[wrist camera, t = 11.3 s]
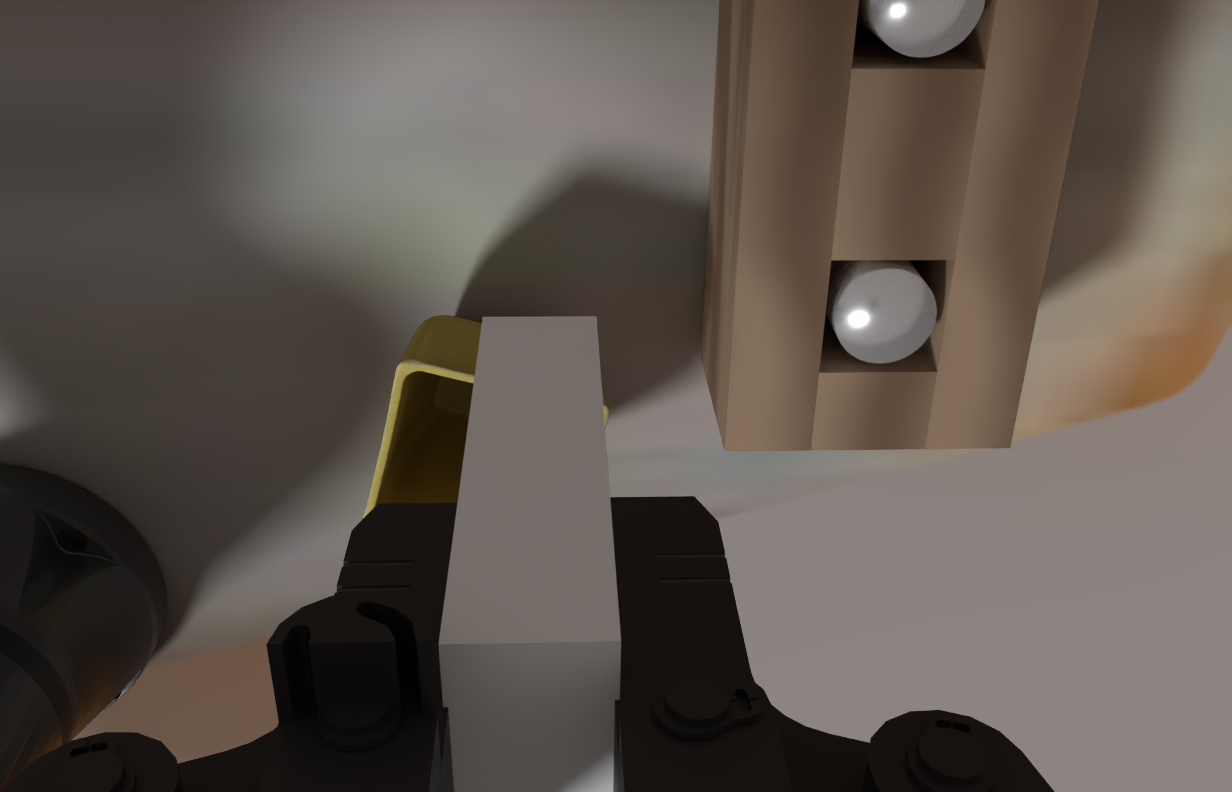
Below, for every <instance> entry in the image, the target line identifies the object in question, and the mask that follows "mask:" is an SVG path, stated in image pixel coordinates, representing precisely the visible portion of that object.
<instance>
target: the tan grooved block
mask: <svg viewBox="0 0 1232 792" xmlns="http://www.w3.org/2000/svg"><path fill="white" fill-rule="evenodd" d="M1098 4H1099V0H985V5H984V8H983V11H982V14H981V16H980V18H979V20H978V22H977V24H976V26H975V27H974V29H973V30H972V31H971V32H970V34H969V35H968V36H967V37H966V38H965V39H964V40H963V41H962V42H961V43H959V44H958V45H957V46H955V47H954V48H952V49H950V50H949V51H946V52H944V53H942V54H939V55H936V56H931V57H922V58H919V57H911V56H906V55H904V54H901V53H899V52H897V51H895V50H893V49H892V48H891V47H889V46H888V45H887V44H886V43H884V42H883V41H882V40H881V39H879V38H878V37H877V36H876V35H874V34H873V33H872V32H871V31H870V30H868V29H867V28H866V27H865V26H863V25H862V24H861V23H860V22H857V14H858V5H859V0H720V4H719V23H718V42H717V60H716V79H715V98H714V117H713V135H712V154H711V173H710V192H709V210H708V229H707V248H706V267H705V285H704V304H703V323H702V342H701V359H702V363H703V367H704V371H705V375H706V379H707V383H708V387H709V391H710V395H711V399H712V403H713V407H714V411H715V415H716V419H717V423H718V427H719V431H720V435H721V439H722V443H723V447H724V451H794V450H882V449H971V448H1010V446H1011V441H1012V436H1013V431H1014V426H1015V420H1016V415H1017V410H1018V405H1019V400H1020V395H1021V390H1022V385H1023V380H1024V375H1025V370H1026V365H1027V360H1028V355H1029V350H1030V345H1031V340H1032V335H1033V330H1034V325H1035V320H1036V315H1037V310H1038V305H1039V300H1040V295H1041V290H1042V285H1043V280H1044V275H1045V270H1046V265H1047V260H1048V255H1049V250H1050V245H1051V240H1052V235H1053V230H1054V225H1055V220H1056V215H1057V210H1058V205H1059V200H1060V195H1061V190H1062V185H1063V180H1064V174H1065V169H1066V164H1067V159H1068V154H1069V149H1070V144H1071V139H1072V134H1073V129H1074V124H1075V119H1076V114H1077V109H1078V104H1079V99H1080V94H1081V89H1082V84H1083V79H1084V74H1085V69H1086V64H1087V59H1088V54H1089V49H1090V44H1091V39H1092V34H1093V29H1094V24H1095V19H1096V14H1097V9H1098ZM831 260H910V262H911V263H912V265H913V266H914V267H915V269H916V270H917V271H918V273H919V274H920V276H921V277H922V278H923V280H924V281H925V282H926V284H927V285H928V287H929V288H930V289H931V291H932V293H933V295H934V298H935V301H936V308H937V314H936V321H935V324H934V327H933V330H932V332H931V334H930V335H929V337H928V338H927V340H926V341H925V342H924V343H923V345H922V346H921V347H919V348H918V349H917V350H916V351H915V352H913V353H912V354H910V355H909V356H907V357H905V358H903V359H900V360H898V361H894V362H890V363H881V364H878V363H869V362H865V361H862V360H860V359H857V358H855V357H854V356H852V355H851V354H850V353H848V352H847V351H846V350H845V349H844V347H843V346H842V345H841V343H840V341H839V339H838V337H837V335H836V333H835V331H834V329H833V327H832V325H831V323H830V321H829V319H828V317H827V315H826V305H827V295H828V286H829V276H830V267H831Z"/></svg>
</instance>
